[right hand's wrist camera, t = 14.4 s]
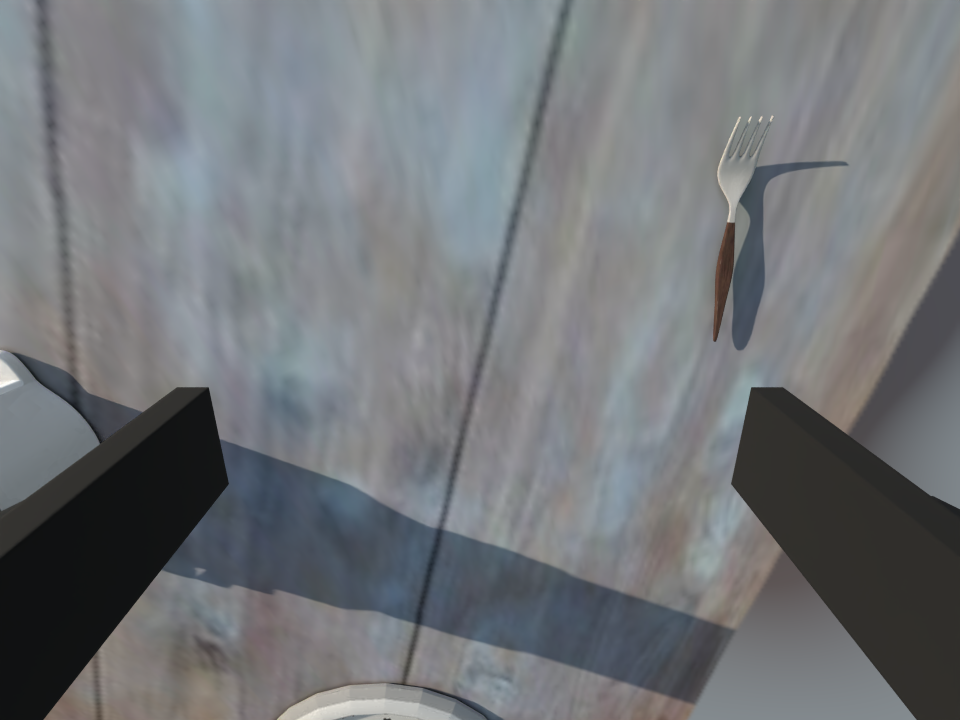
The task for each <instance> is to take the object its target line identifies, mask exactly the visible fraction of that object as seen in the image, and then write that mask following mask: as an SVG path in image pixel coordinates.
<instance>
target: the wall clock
mask: <svg viewBox="0 0 960 720" xmlns="http://www.w3.org/2000/svg"><path fill="white" fill-rule="evenodd" d="M277 720H487V719H486V718H485V717H484V716H483V715H482V714H480V713H478V712H477V711H475V710H473V709H472V708H470V707H468V706H467V705H465V704H463V703H462V702H460V701H458V700H457V699H454V698H451V697H448V696H445V695H442V694H439V693H436V692H433V691H430V690H427V689H424V688H418V687H411V686H403V685H396V684H388V683H382V684H362V685H349V686H345V687H341V688H337V689H333V690H329V691H325V692H321V693H317V694H315V695H313V696H311V697H309V698H307V699H305V700H303V701H301V702H300V703H298V704H296V705H294V706H292V707H290V708H289V709H288V710H287V711H285V712H284V713H283V714H282V715H281V716H280V717H279V718H278V719H277Z"/></svg>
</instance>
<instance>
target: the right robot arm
mask: <svg viewBox="0 0 960 720" xmlns="http://www.w3.org/2000/svg"><path fill="white" fill-rule="evenodd" d="M228 484H229V483H228V478H227V473H226V468H225V464H224V459H223V454H222V449H221V444H220V440H219V435H218V430H217V425H216V420H215V415H214V411H213V406H212V401H211V396H210V391H209V387H177V388H176V389H174V390H173V391H172V392H170V393H169V394H167V395H166V396H165V397H163V398H162V399H161V400H159V401H158V402H157V403H155V404H154V405H152V406H151V407H150V408H148V409H147V410H146V411H144V412H143V413H142V414H140V415H139V416H138V417H136V418H135V419H133V420H132V421H131V422H129V423H128V424H127V425H125V426H124V427H123V428H121V429H120V430H118V431H117V432H116V433H114V434H113V435H112V436H110V437H109V438H108V439H106V440H105V441H104V442H102V443H101V444H99V445H98V446H97V447H95V448H94V449H93V450H91V451H90V452H89V453H87V454H86V455H84V456H83V457H82V458H80V459H79V460H78V461H76V462H75V463H74V464H72V465H71V466H70V467H68V468H67V469H65V470H64V471H63V472H61V473H60V474H59V475H57V476H56V477H55V478H53V479H52V480H51V481H49V482H48V483H46V484H45V485H44V486H42V487H41V488H40V489H38V490H37V491H36V492H34V493H33V494H31V495H30V496H29V497H27V498H26V499H25V500H23V501H21V502H19V503H17V504H15V505H13V506H11V507H9V508H7V509H5V510H3V511H1V512H0V720H43V719H44V718H45V717H46V716H47V714H48V713H49V712H50V711H51V709H52V708H53V707H54V706H55V704H56V703H57V702H58V700H59V699H60V698H61V697H62V695H63V694H64V693H65V692H66V690H67V689H68V688H69V686H70V685H71V684H72V683H73V681H74V680H75V679H76V678H77V676H78V675H79V674H80V672H81V671H82V670H83V669H84V667H85V666H86V665H87V664H88V662H89V661H90V660H91V658H92V657H93V656H94V655H95V653H96V652H97V651H98V650H99V648H100V647H101V646H102V644H103V643H104V642H105V641H106V639H107V638H108V637H109V636H110V634H111V633H112V632H113V631H114V629H115V628H116V627H117V625H118V624H119V623H120V622H121V620H122V619H123V618H124V617H125V615H126V614H127V613H128V611H129V610H130V609H131V608H132V606H133V605H134V604H135V603H136V601H137V600H138V599H139V597H140V596H141V595H142V594H143V592H144V591H145V590H146V589H147V587H148V586H149V585H150V583H151V582H152V581H153V580H154V578H155V577H156V576H157V575H158V573H159V572H160V571H161V569H162V568H163V567H164V566H165V564H166V563H167V562H168V561H169V559H170V558H171V557H172V555H173V554H174V553H175V552H176V550H177V549H178V548H179V547H180V545H181V544H182V543H183V542H184V540H185V539H186V538H187V536H188V535H189V534H190V533H191V531H192V530H193V529H194V528H195V526H196V525H197V524H198V522H199V521H200V520H201V519H202V517H203V516H204V515H205V514H206V512H207V511H208V510H209V508H210V507H211V506H212V505H213V503H214V502H215V501H216V500H217V498H218V497H219V496H220V494H221V493H222V492H223V491H224V489H225V488H226V487H227V486H228ZM731 484H732V486H733V487H734V488H735V489H736V491H737V492H738V493H739V494H740V496H741V497H742V498H743V500H744V501H745V502H746V503H747V505H748V506H749V507H750V508H751V510H752V511H753V512H754V514H755V515H756V516H757V517H758V519H759V520H760V521H761V522H762V524H763V525H764V526H765V528H766V529H767V530H768V531H769V533H770V534H771V535H772V536H773V538H774V539H775V540H776V542H777V543H778V544H779V545H780V547H781V548H782V549H783V550H784V552H785V553H786V554H787V556H788V557H789V558H790V559H791V561H792V562H793V563H794V564H795V566H796V567H797V568H798V569H799V571H800V572H801V573H802V575H803V576H804V577H805V578H806V580H807V581H808V582H809V583H810V585H811V586H812V587H813V589H814V590H815V591H816V592H817V594H818V595H819V596H820V597H821V599H822V600H823V601H824V603H825V604H826V605H827V606H828V608H829V609H830V610H831V611H832V613H833V614H834V615H835V617H836V618H837V619H838V620H839V622H840V623H841V624H842V625H843V627H844V628H845V629H846V630H847V632H848V633H849V634H850V636H851V637H852V638H853V639H854V641H855V642H856V643H857V644H858V646H859V647H860V648H861V649H862V651H863V652H864V653H865V655H866V656H867V657H868V658H869V660H870V661H871V662H872V664H873V665H874V666H875V667H876V669H877V670H878V671H879V672H880V674H881V675H882V676H883V678H884V679H885V680H886V681H887V683H888V684H889V685H890V686H891V688H892V689H893V690H894V691H895V693H896V694H897V695H898V697H899V698H900V699H901V700H902V702H903V703H904V704H905V706H906V707H907V708H908V709H909V711H910V712H911V713H912V714H913V716H914V717H915V718H916V719H917V720H960V509H958V508H956V507H954V506H952V505H950V504H948V503H946V502H944V501H942V500H940V499H938V498H936V497H934V496H930V495H929V494H927V493H926V492H924V491H923V490H922V489H920V488H919V487H918V486H916V485H915V484H914V483H912V482H911V481H909V480H908V479H907V478H905V477H904V476H903V475H901V474H900V473H899V472H897V471H896V470H895V469H893V468H892V467H890V466H889V465H888V464H886V463H885V462H884V461H882V460H881V459H880V458H878V457H877V456H875V455H874V454H873V453H871V452H870V451H869V450H867V449H866V448H865V447H863V446H862V445H861V444H859V443H858V442H856V441H855V440H854V439H852V438H851V437H850V436H848V435H847V434H846V433H844V432H843V431H842V430H840V429H839V428H837V427H836V426H835V425H833V424H832V423H831V422H829V421H828V420H827V419H825V418H824V417H822V416H821V415H820V414H818V413H817V412H816V411H814V410H813V409H812V408H810V407H809V406H808V405H806V404H805V403H803V402H802V401H801V400H799V399H798V398H797V397H795V396H794V395H793V394H791V393H790V392H788V391H787V390H786V389H784V388H783V387H751V391H750V396H749V401H748V406H747V411H746V415H745V420H744V425H743V430H742V435H741V440H740V444H739V449H738V454H737V459H736V464H735V468H734V473H733V478H732V483H731Z"/></svg>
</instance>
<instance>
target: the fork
mask: <svg viewBox="0 0 960 720" xmlns="http://www.w3.org/2000/svg"><path fill="white" fill-rule="evenodd" d="M762 118H763V116H761V118H760V120H759V122H758V124H757V126H756V128H755V130H754V132H753V134H752V136H751V138H750V140H749V143H748V145H747V147H746V149H745V151H744V153H743V155H742V156H741V157H740V156H739V153H740V149H741V146H742V144H743V141H744V138H745V135H746V132H747V129H748V127H749V124H750V121H751V119H752V117H750V118H749V120H748V123H747V125H746V127H745V129H744V131H743V133H742V135H741V138H740V140H739V142H738V144H737V147H736V149H735V151H734V153H733V155H732V156H731V157H729V152H730V149H731V145H732V142H733V139H734V136H735V133H736V130H737V128H738V125H739V122H740V120H741V117H739V119H738V121H737V123H736V126H735V128H734V130H733V132H732V134H731V137H730V139H729V141H728V144H727V146H726V149H725V151H724V154H723V156H722V159H721V161H720V164H719V167H718V181H719V184H720V187H721V189H722V191H723V193H724V194H725V196H726V198H727V200H728V203H729V207H730V211H729V217H728V221H727V225H726V229H725V233H724V237H723V241H722V245H721V249H720V253H719V257H718V262H717V268H716V279H715V311H714V329H713V341H714V342H716V340H717V337H718V333H719V329H720V325H721V320H722V316H723V311H724V307H725V303H726V299H727V295H728V291H729V287H730V283H731V278H732V273H733V264H734V239H735V214H736V208H737V204H738V202H739V200H740V198H741V196H742V195H743V193H744V191H745V190H746V188H747V186H748V184H749V182H750V181H751V178H752V176H753V174H754V171H755V168H756V165H757V161H758V157H759V154H760V151H761V148H762V145H763V143H764V140H765V137H766V135H767V132H768V130H769V127H770V125H771V122H772V120H773V118H774V116H772V117H771V119H770V121H769V123H768V125H767V127H766V129H765V131H764V133H763V135H762V137H761V139H760V141H759V143H758V145H757V148H756V150H755V152H754V154H753V155H752V156H750V150H751V147H752V144H753V142H754V139H755V136H756V133H757V131H758V128H759V126H760V123H761V121H762Z"/></svg>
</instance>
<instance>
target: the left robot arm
mask: <svg viewBox="0 0 960 720" xmlns="http://www.w3.org/2000/svg"><path fill="white" fill-rule="evenodd" d="M99 444H100V442H99V440H98V438H97V436H96V435H95V433H94V431H93V430H92V428H91V427H90V426H89V424H88V423H87V422H86V420H85V419H84V418H83V417H82V416H81V415H80V414H79V413H78V412H77V411H76V410H75V409H74V408H73V407H72V406H71V405H70V404H68V403H67V402H66V401H65V400H63V399H62V398H61V397H59V396H58V395H56V394H55V393H53V392H52V391H50V390H49V389H47V388H46V387H44V386H43V385H42V384H40V383H39V382H38V381H37V380H36V379H35V378H34V376H33V375H32V374H31V373H30V371H29V370H28V369H27V368H26V367H25V365H24V364H23V363H22V362H21V361H20V360H19V359H18V358H17V357H16V356H14V355H13V354H12V353H10V352H7V351H4V350H0V512H1V511H3V510H5V509H7V508H9V507H11V506H13V505H15V504H17V503H19V502H21V501H23V500H25V499H26V498H27V497H29V496H30V495H31V494H33V493H34V492H36V491H37V490H38V489H40V488H41V487H42V486H44V485H45V484H46V483H48V482H49V481H51V480H52V479H53V478H55V477H56V476H57V475H59V474H60V473H61V472H63V471H64V470H65V469H67V468H68V467H70V466H71V465H72V464H74V463H75V462H76V461H78V460H79V459H80V458H82V457H83V456H84V455H86V454H87V453H89V452H90V451H91V450H93V449H94V448H95V447H97V446H98V445H99Z"/></svg>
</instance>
